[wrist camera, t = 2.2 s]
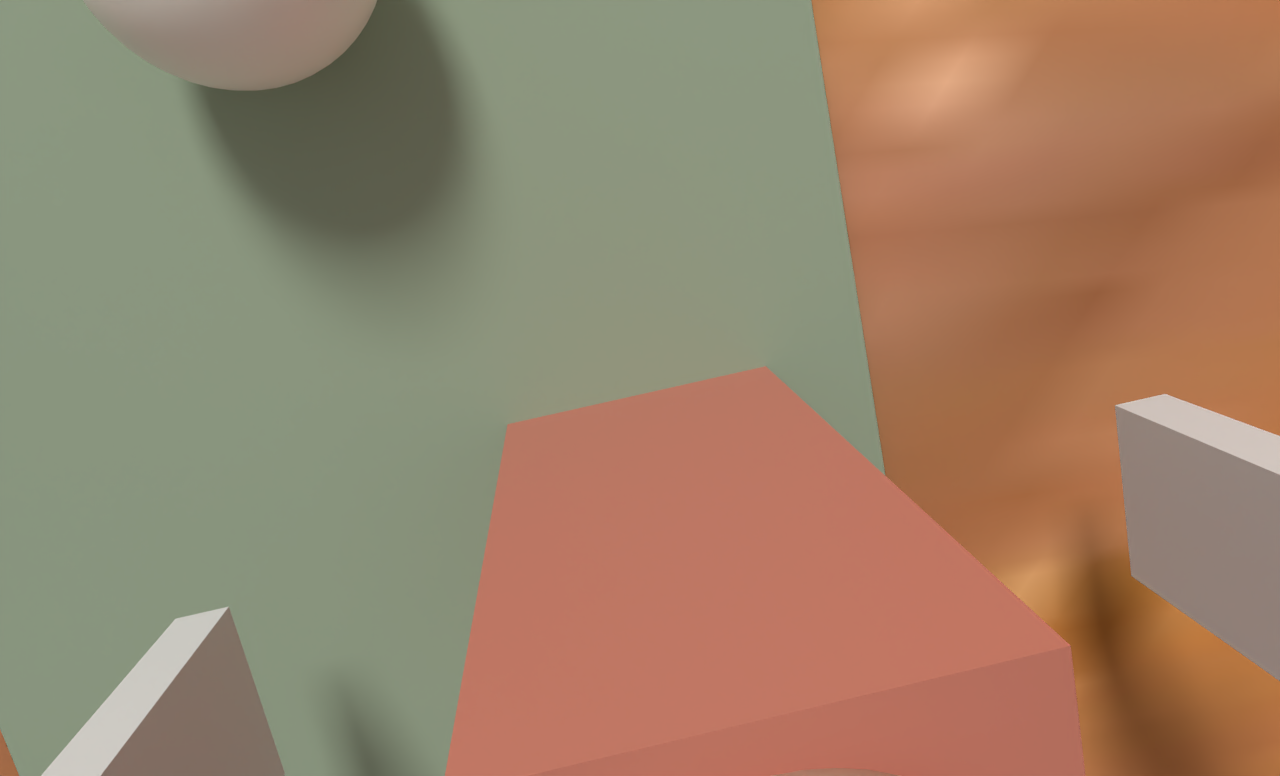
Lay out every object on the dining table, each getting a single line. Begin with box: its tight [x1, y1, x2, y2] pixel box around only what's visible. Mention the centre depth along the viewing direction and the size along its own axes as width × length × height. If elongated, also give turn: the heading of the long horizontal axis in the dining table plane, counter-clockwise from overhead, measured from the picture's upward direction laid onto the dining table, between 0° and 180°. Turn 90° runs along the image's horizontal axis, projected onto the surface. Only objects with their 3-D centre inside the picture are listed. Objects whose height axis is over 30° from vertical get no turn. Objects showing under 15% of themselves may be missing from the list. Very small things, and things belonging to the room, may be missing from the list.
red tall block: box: [445, 366, 1085, 776], centre depth 11 cm, size 4×4×12 cm
